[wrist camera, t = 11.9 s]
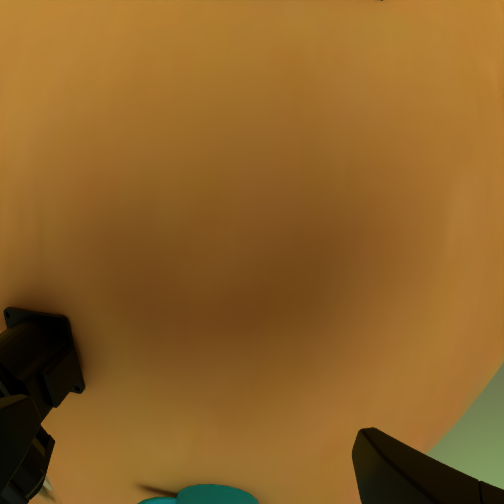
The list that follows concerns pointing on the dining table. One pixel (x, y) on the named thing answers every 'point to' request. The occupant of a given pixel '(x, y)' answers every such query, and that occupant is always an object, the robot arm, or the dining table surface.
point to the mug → (206, 496)
